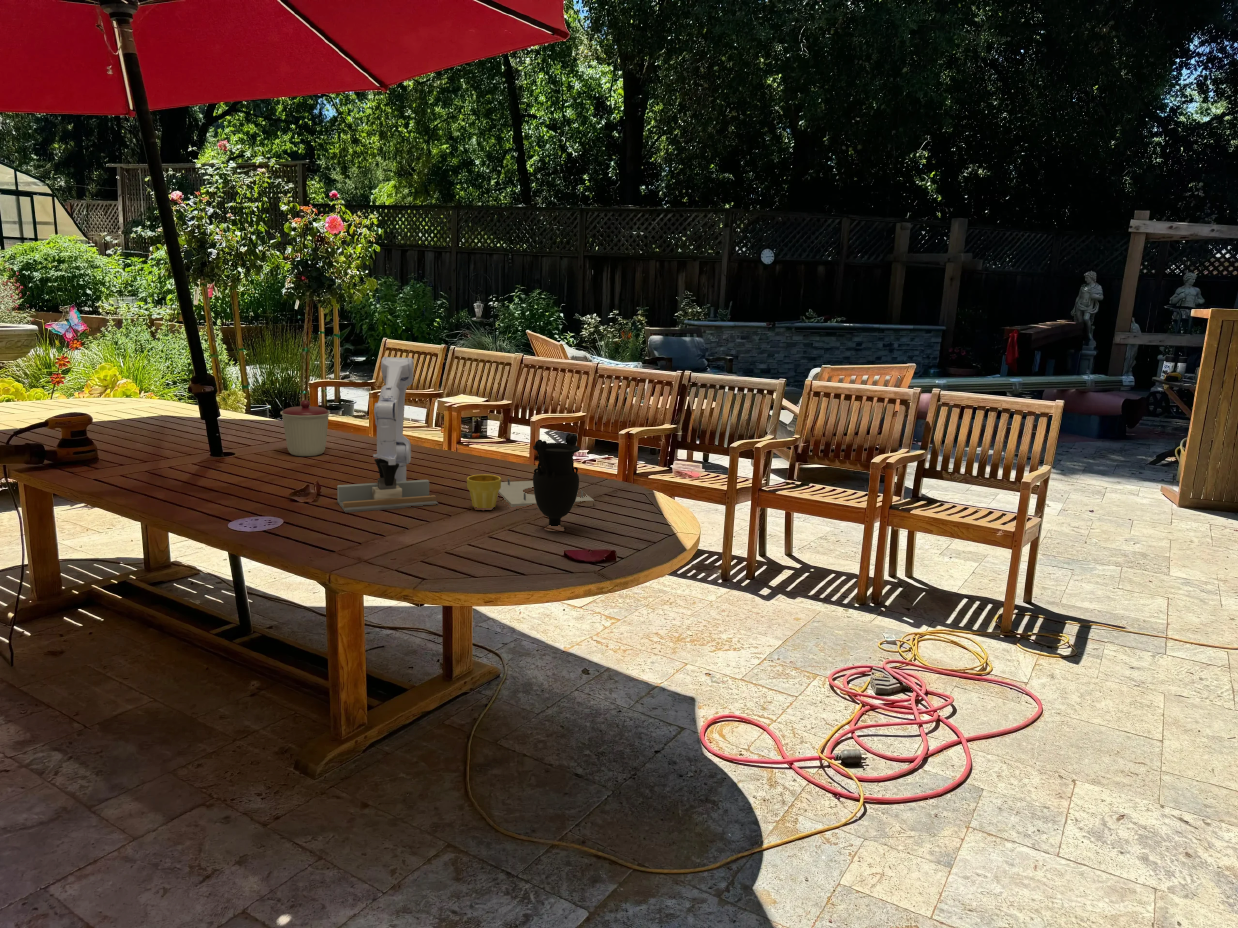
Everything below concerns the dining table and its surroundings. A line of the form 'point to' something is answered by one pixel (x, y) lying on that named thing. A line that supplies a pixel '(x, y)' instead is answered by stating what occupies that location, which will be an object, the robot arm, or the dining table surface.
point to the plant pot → (484, 490)
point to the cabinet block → (386, 490)
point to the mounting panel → (519, 498)
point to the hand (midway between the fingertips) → (386, 483)
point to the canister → (305, 429)
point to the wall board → (361, 499)
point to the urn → (556, 478)
